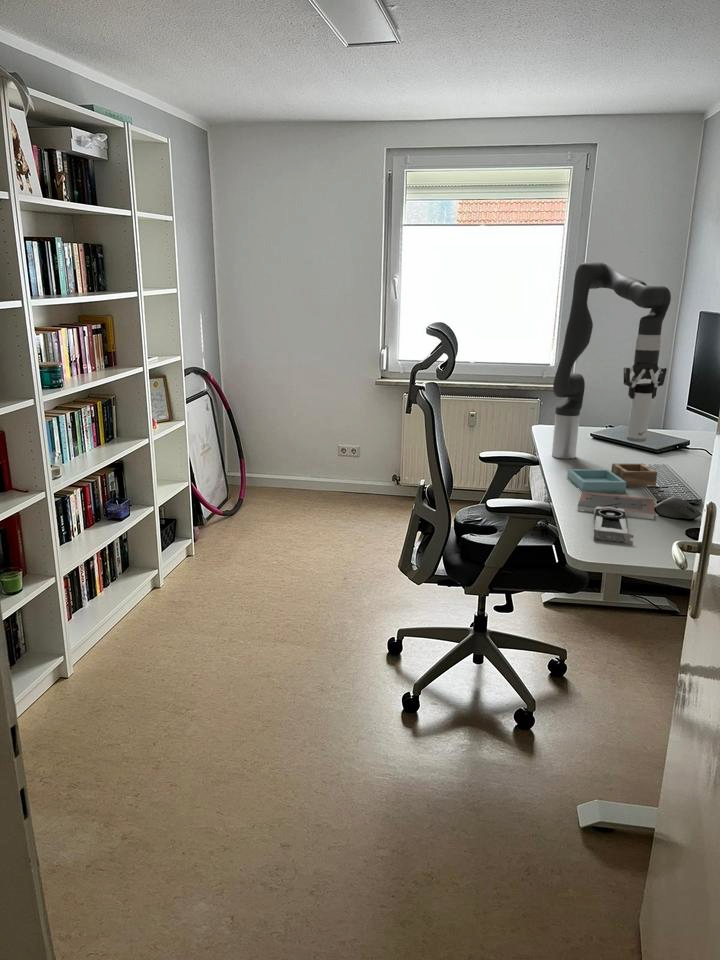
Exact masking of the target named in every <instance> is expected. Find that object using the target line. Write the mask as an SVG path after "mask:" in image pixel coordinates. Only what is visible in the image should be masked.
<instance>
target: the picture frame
mask: <svg viewBox="0 0 720 960" xmlns="http://www.w3.org/2000/svg"><path fill="white" fill-rule="evenodd" d="M654 503H655V499H654V498H649V497H648V498H647V497H637V496H630V495H629V496H628V495H620V494H611V493H603V492H583V491H582V492H581V493H580V497H579V500H578V504H577V509H578V510H584V511H583V512H585V511H590V512H589V513H594V509H595V508H596V507H603V508H604V507H612V508H615V509H617V508H619V509H623V510H624V511H625V514H626V517H630V518H638V519H644V520H645V519H647V520H648V519H650V520H654V519H655V504H654ZM577 509H576V510H577Z"/></svg>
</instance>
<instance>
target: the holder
mask: <svg viewBox="0 0 720 960" xmlns="http://www.w3.org/2000/svg"><path fill="white" fill-rule="evenodd" d="M610 471H611V472H612V473H614V474H615V475H617V476H618V477H620V478H621V479H623V480H624V481H625V482H626V487H648V486H647V485H656V484H657V477H658V471H656V470H655V469H653V468H651V467H649V466H647V465H646V464H644V463H619V462H618V463H617V462H616V463H611V470H610Z"/></svg>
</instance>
